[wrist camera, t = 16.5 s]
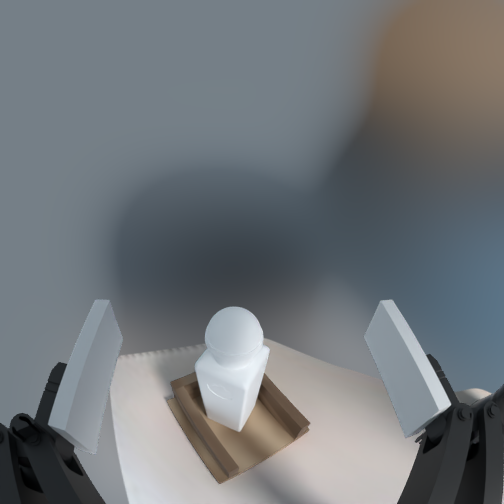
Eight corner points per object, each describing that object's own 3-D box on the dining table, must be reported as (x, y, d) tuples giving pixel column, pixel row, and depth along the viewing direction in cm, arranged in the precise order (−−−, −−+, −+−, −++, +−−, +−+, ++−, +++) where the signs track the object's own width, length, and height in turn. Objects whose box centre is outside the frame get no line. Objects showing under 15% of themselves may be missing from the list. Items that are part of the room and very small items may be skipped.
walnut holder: (249, 366, 46) (252, 346, 43) (307, 431, 35) (318, 417, 32) (167, 403, 38) (161, 385, 35) (219, 484, 27) (218, 477, 24)
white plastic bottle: (202, 418, 35) (186, 323, 24) (222, 388, 41) (221, 284, 29) (241, 436, 33) (252, 351, 22) (259, 404, 39) (279, 305, 27)
